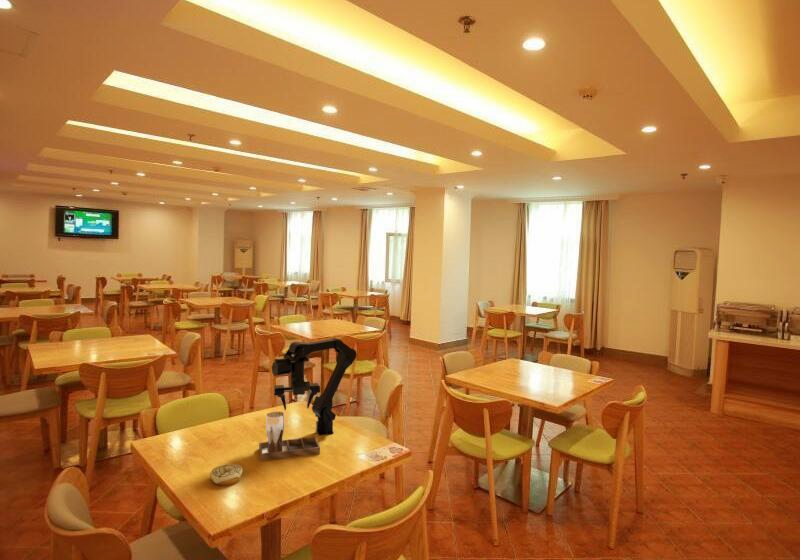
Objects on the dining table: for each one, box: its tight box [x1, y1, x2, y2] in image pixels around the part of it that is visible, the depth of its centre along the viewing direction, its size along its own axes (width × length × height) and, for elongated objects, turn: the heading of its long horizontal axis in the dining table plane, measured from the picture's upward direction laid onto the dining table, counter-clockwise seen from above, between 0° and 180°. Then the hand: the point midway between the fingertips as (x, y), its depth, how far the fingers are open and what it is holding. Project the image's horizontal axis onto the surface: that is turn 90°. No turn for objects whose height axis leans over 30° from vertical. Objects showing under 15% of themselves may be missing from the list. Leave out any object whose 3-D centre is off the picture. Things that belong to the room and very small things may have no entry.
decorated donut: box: [209, 463, 243, 486], centre depth 160 cm, size 10×11×4 cm
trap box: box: [258, 436, 321, 462], centre depth 183 cm, size 22×11×2 cm, turn 109°
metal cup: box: [265, 411, 285, 453], centre depth 181 cm, size 7×7×15 cm
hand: (296, 409), depth 194 cm, fingers open, 9 cm apart
